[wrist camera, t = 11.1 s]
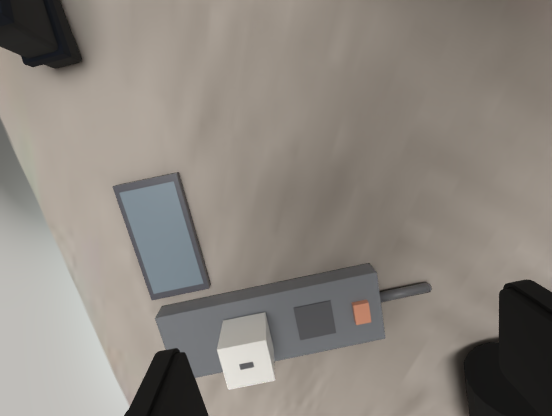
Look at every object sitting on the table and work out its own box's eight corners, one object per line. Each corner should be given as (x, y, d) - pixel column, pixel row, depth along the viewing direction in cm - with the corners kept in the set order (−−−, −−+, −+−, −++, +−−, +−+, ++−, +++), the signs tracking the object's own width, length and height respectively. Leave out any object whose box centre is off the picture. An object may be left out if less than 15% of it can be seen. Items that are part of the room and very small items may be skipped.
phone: (178, 172, 33) (175, 173, 32) (210, 284, 36) (209, 288, 35) (116, 185, 33) (112, 186, 32) (154, 296, 36) (151, 300, 35)
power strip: (425, 251, 36) (440, 262, 33) (430, 314, 38) (445, 330, 35) (162, 306, 36) (152, 322, 33) (182, 366, 39) (175, 386, 36)
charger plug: (265, 301, 36) (265, 340, 29) (273, 336, 38) (275, 381, 31) (225, 309, 36) (216, 350, 29) (234, 343, 38) (228, 390, 31)
